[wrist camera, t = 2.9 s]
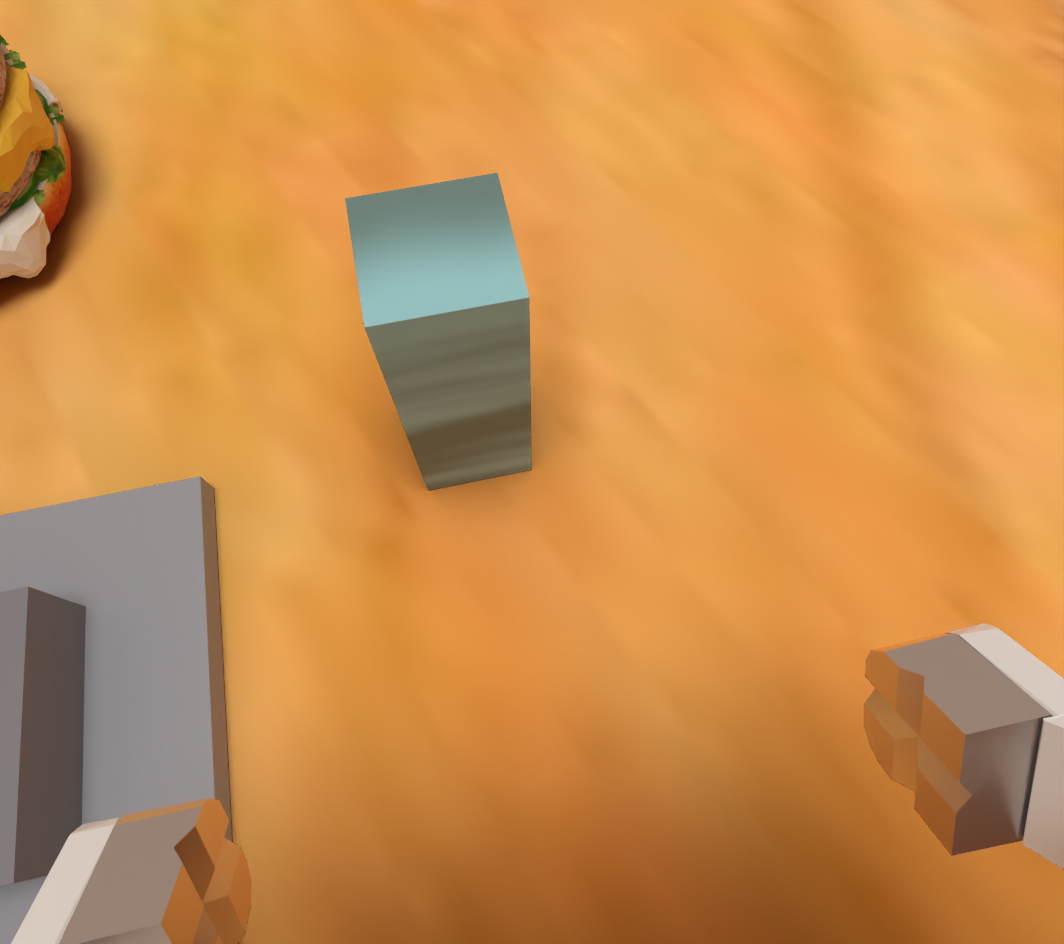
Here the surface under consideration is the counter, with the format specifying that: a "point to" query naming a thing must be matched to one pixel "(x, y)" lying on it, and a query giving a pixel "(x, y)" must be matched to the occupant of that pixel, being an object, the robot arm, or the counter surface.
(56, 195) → the burger
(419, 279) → the teal peg
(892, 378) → the counter surface
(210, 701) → the socket board
